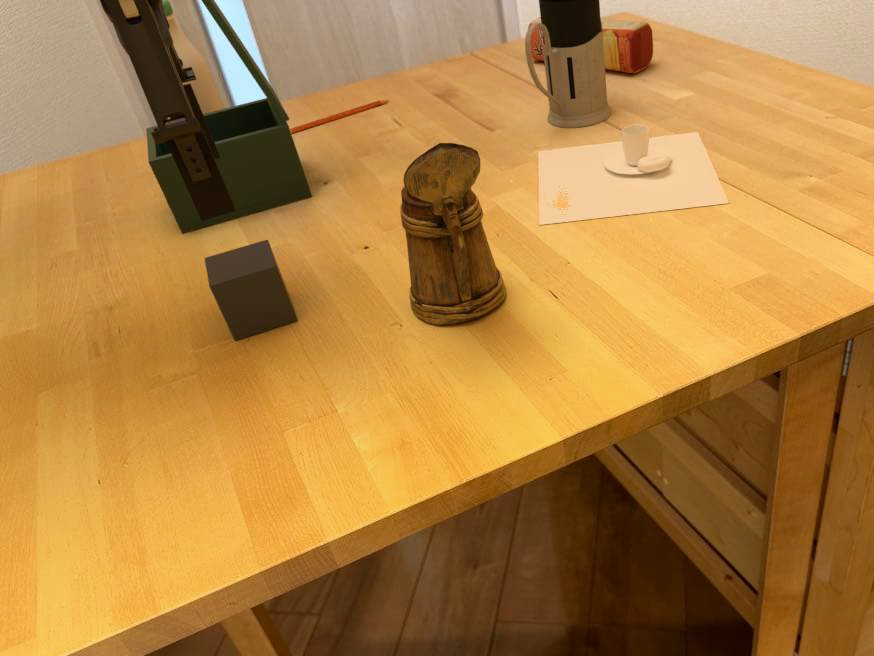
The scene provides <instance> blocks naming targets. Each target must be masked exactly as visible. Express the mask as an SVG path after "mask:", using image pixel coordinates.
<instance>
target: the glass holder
mask: <svg viewBox="0 0 874 656" xmlns="http://www.w3.org/2000/svg"><path fill="white" fill-rule="evenodd" d="M538 5H539V6H538V7H539V14H540V16H539V17H541V23H536V22H535V23H533V24H532V25H531V26H530V27H529V26H528V27H529V28H528V27H527V31H526V33H525V39H524V51H525V58H526V64H527V66H528V71H529V73H530V76H531V79H532V81H533V83H534V85H535V86H536V89H537V90H538V91H540V93H542V94H543V95H544V96H545V97H546V98H548V105H549V106H548V107H549V108H548V114H547V122H548V123H549V124H550V125H552V126H554V127H558V128H566V129H576V128H577V129H578V128H585V127H590V126H594V125H597V124H599V123H601V122H604V121H606V120H608V118H610V116H611V115H612V109H611V107H610V105H609V103H608V93H607V79H606V77H607V76H606V69H605V60H604V44H603V30H602V22H601V7H600V5H601V4H600V0H538ZM537 26H539V27H540V29H541V30H542V33H543V38H542V46H543V55H544V61H543V63H544V71H545V80H546V81H545V82H546V88H547V89H546V88H545V87H544V86H543V84H542V82H541V81H540V79H539V77H538V74H537V72H536V68H535V65H534V61H533V60H534V59H533V58H532V54H531V35H532V33H533V30H534V29H535V28H536V27H537Z"/></svg>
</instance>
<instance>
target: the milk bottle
mask: <svg viewBox="0 0 874 656" xmlns="http://www.w3.org/2000/svg"><path fill="white" fill-rule="evenodd" d="M162 2H163V6H164V12H165V15H166V18H167V20H168V23H169V26H170V27H169V31H170V34H171V37H172V39H173V45H174V48H175V50H176V52H177V55H178V57H179V58H180V59H181V60H182V62H183V66H182V67H183V69H184V68H188V67H192V69H193V72H194V74H195V77H196V80H193V81H188V82H184V83H182V84H183V85H186V84H191V86H192V89H193V91H194V94H195V96H196V98H197V101H198V103H199V106H200V108H201V111H202V113H203V114H205V113H209V112H213V111H217V110H221V109H225V108H224V105H223V103H222V99H221V97H220V96H219V93H218V90H217V87H216V85H215V83H214V79H213V77H212V75H211V73H210V71H209V68H208V66H207V64H206V62H205V60H204V58H203V57H202V55H201V53H200V52H199V51H198V49H196V47H195V46H194V45H193V43H191V42H190V41H189V40H188V38H187V37H186V35H184V32H182V30H181V28H179V26H178V24H177V23H176V19H175V18H176V15H175V14H174V10H173V6H172V4H171V2H170V0H162ZM168 119H170V117H169V118H168ZM168 119H167V120H168Z"/></svg>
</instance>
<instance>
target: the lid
mask: <svg viewBox="0 0 874 656" xmlns="http://www.w3.org/2000/svg"><path fill="white" fill-rule="evenodd" d="M200 1H201V2H202V4H203V5H204V7H205V8H206V10H207V11H208V12H209V14H210V16H211V17H212V18H213V20H214V21H215V23H216V25H217V26H218V27H219V29H220V30H221V32H222V33H223V35H224V36H225V39H227V41H228V42H229V44H230V46H231V47H232V48H233V49H234V51H235V53H236V55H238V57H239V58H240V60H241V61H242V63H243V64H244V66H245V68H246V69H247V70H248V72H249V73H250V75H251V76H252V78H253V79H254V81H255V83H256V84H257V85H258V87H259V88H260V89H261V91H262V93H263V94H264V96H265V98H268V100H269V101H270V103H271V104H272V106H273V107H274V109H275V110H276V112H277V113H278V115H279V116H280V118H281V119H282V121H283V122H288V121H290V117H289V115H288V113H287V112H286V109H285V107H284V106H283V104H282V103H281V100H280V99H279V97H278V95H277V93H276V91H275V90H274V88H273V87H272V85H271V84H270V81H268V79H267V77H266V76H265V75H264V73H263V72H262V70H261V69H260V67H259V66H258V64H257V62H256V61H255V59H254V58H253V56H252V55H251V53H250V52H249V51H248V49H247V47H246V46H245V44H244V42H243V41H242V40H241V38H240V37H239V35H238V34H237V32H236V31H235V29H234V28H233V26H232V25H231V23H230V21H228V20H229V19H227V17H226V16H225V14H224V13H223V11H222V9H220V6H219V5H218V4H217V2H216V1H215V0H200Z"/></svg>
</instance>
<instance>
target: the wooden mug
mask: <svg viewBox="0 0 874 656" xmlns="http://www.w3.org/2000/svg"><path fill="white" fill-rule="evenodd" d="M480 173H481V157H480V154H479V152H478V150H476V149H475V148H473V147H470V146H467V145H464V144H459V143H455V142H439V143H437V144H435V145H434V146H433V147H431V148H429V149H428V150H426V151H425V152H423V153H422V154H420V155H419V156H418V157H416V158H415V159H414V160H413V161H412V162H411V163H410V164H409V165H408V166H407V167H406V171H405V172H404V175H403V185H404V186H403V187H402V189H401V191H400V195H401V204H400V208H399V210H400V220H401V226H402V228H403V229H404V232H405V239H406V247H407V257H408V259H407V260H408V268H409V278H410V287H409V302H410V309H411V310H412V313H413V314H414V315H415V316H416V317H417V318H419V319H421V320H422V321H424V322H425V323H429V324H433V325H458V324H464V323H467V322H470V321H475V320H478V319H480V318H482V317H485V316H487V315H488V314H490V313H492V312H493V311H494V310H496V309H497V308H498V307H499V306H500V305H501V304H502V303H503V302H504V300H505V298H506V293H507V288H506V284H505V281H504V278H503V275H502V273H501V271H500V269H499V268H498V267H497V265H496V262H495V260H494V256H493V254H492V253H493V252H492V250H491V247H490V244H489V241H488V237H487V235H486V233H485V232H486V231H485V229H484V226H483V222H482V220H483V217H484V211H483V208H482V205H481V202H480V200H479V197H478V195H477V194H476V193H475V192H474V191H473V190H472V187H473V186H474V185H475V183H476V181H477V178H478V176H479V175H480Z"/></svg>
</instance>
